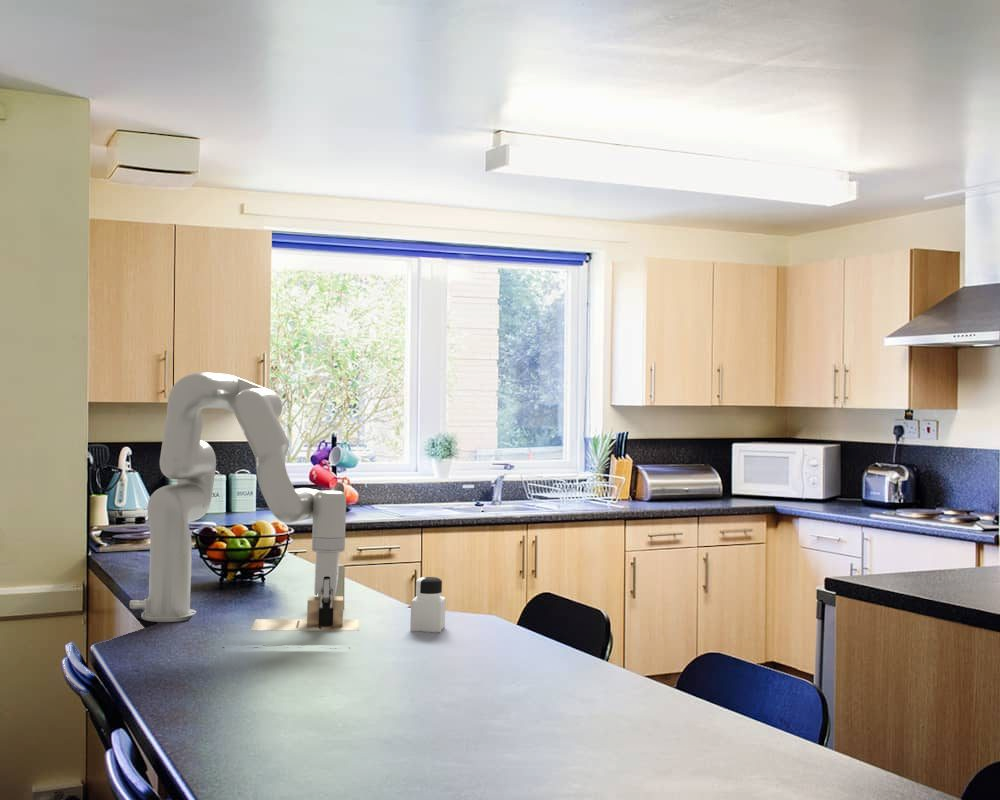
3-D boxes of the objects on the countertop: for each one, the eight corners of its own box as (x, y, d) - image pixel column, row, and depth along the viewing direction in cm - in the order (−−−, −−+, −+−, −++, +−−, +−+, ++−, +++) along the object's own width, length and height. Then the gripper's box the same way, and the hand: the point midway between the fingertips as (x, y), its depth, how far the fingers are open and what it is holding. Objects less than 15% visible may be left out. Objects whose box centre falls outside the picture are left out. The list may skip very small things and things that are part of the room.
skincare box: (344, 614, 261) (346, 565, 262) (329, 615, 259) (330, 566, 259) (331, 609, 266) (333, 561, 266) (316, 611, 263) (317, 563, 264)
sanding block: (306, 626, 240) (307, 600, 240) (307, 622, 245) (308, 596, 245) (342, 626, 241) (343, 600, 241) (342, 622, 246) (343, 596, 246)
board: (250, 635, 234) (250, 630, 234) (255, 624, 246) (255, 619, 246) (359, 635, 238) (359, 630, 238) (358, 624, 250) (359, 619, 250)
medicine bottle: (445, 626, 250) (446, 576, 250) (440, 632, 243) (441, 580, 243) (415, 625, 251) (416, 574, 251) (409, 631, 244) (411, 579, 244)
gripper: (313, 539, 251) (311, 615, 251) (310, 549, 234) (307, 631, 234) (345, 539, 252) (343, 615, 252) (344, 549, 235) (342, 631, 235)
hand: (326, 622), depth 243 cm, fingers closed on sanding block, 5 cm apart
